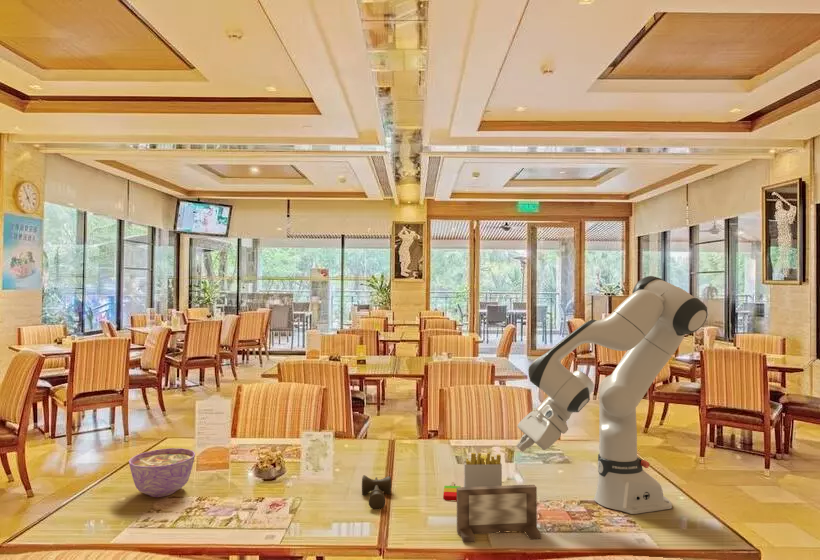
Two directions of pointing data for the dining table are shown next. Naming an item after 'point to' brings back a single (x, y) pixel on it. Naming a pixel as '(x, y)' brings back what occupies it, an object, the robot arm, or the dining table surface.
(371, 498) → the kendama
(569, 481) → the dining table surface
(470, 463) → the french fries container
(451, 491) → the popsicle
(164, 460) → the bowl of food
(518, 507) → the menu board
